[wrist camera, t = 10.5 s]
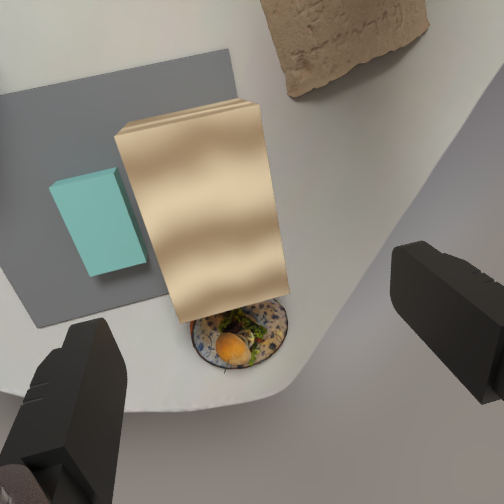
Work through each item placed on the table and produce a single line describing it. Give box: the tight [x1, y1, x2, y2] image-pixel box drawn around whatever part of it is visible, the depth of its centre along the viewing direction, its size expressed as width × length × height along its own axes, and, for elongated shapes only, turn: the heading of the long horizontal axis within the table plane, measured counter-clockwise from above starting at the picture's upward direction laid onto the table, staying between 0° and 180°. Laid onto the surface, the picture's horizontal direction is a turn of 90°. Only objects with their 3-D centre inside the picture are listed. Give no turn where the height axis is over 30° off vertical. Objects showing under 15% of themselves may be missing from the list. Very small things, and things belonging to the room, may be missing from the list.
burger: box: [190, 298, 288, 373], centre depth 41 cm, size 12×12×8 cm
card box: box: [49, 167, 148, 277], centre depth 34 cm, size 9×6×2 cm, turn 10°
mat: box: [0, 49, 238, 328], centre depth 35 cm, size 22×26×1 cm
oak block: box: [114, 98, 290, 324], centre depth 32 cm, size 16×10×9 cm, turn 10°
